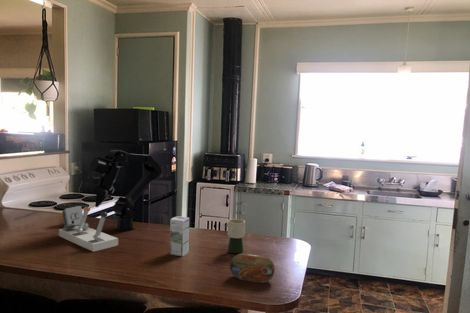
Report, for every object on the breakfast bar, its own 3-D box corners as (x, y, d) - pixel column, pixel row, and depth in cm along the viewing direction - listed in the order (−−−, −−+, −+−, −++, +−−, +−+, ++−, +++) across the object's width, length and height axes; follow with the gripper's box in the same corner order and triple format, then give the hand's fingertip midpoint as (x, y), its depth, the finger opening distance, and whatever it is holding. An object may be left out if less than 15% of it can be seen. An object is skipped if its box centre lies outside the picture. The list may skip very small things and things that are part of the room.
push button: (85, 226, 161) (85, 222, 161) (89, 228, 158) (89, 224, 158) (78, 228, 158) (78, 224, 158) (82, 230, 156) (82, 225, 155)
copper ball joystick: (80, 232, 153) (88, 206, 156) (83, 233, 151) (92, 207, 154) (74, 231, 151) (83, 205, 154) (77, 232, 149) (86, 206, 152)
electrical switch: (68, 227, 171) (67, 209, 171) (61, 227, 174) (60, 208, 174) (84, 223, 180) (83, 205, 179) (77, 223, 182) (76, 205, 182)
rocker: (70, 226, 160) (70, 223, 160) (74, 227, 157) (74, 224, 157) (63, 227, 158) (63, 225, 158) (68, 228, 155) (67, 225, 155)
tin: (229, 277, 118) (229, 253, 117) (232, 274, 121) (233, 250, 120) (272, 285, 112) (273, 260, 112) (275, 281, 115) (276, 256, 115)
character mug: (233, 247, 149) (234, 217, 148) (248, 249, 146) (249, 219, 146) (221, 254, 139) (222, 222, 139) (238, 257, 136) (239, 225, 136)
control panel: (82, 231, 166) (82, 224, 166) (118, 245, 147) (118, 237, 147) (59, 236, 158) (59, 229, 157) (93, 251, 139) (93, 243, 138)
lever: (96, 239, 144) (105, 211, 147) (100, 240, 143) (109, 212, 145) (91, 238, 142) (100, 210, 145) (94, 239, 141) (104, 211, 143)
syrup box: (189, 252, 141) (189, 217, 140) (182, 257, 136) (183, 220, 135) (176, 250, 143) (177, 215, 142) (169, 255, 137) (169, 218, 136)
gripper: (98, 168, 171) (85, 198, 171) (87, 170, 153) (72, 203, 152) (120, 177, 173) (107, 206, 172) (111, 179, 154) (97, 212, 153)
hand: (96, 206), depth 162 cm, fingers closed
